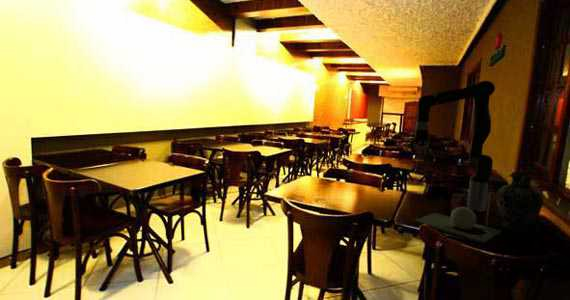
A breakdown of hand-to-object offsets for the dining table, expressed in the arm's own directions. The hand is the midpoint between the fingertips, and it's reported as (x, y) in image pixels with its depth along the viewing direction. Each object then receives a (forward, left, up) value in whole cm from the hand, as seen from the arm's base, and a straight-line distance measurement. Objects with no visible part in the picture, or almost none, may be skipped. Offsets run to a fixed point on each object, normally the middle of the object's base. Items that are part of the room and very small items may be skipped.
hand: (419, 155), depth 195 cm
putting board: (+4, +41, -30) cm, 51 cm away
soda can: (-10, +25, -30) cm, 41 cm away
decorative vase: (-28, +44, -30) cm, 60 cm away
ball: (+2, +44, -25) cm, 51 cm away
